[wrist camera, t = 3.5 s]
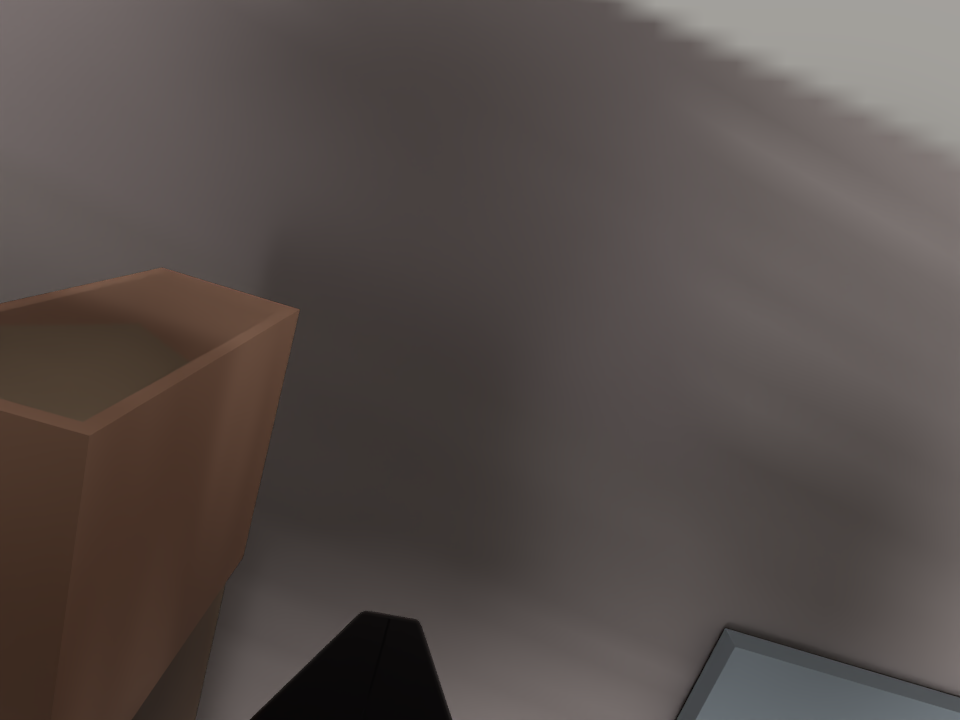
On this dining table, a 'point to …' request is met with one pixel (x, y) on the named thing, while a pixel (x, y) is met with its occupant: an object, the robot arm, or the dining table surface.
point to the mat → (803, 688)
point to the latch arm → (127, 486)
